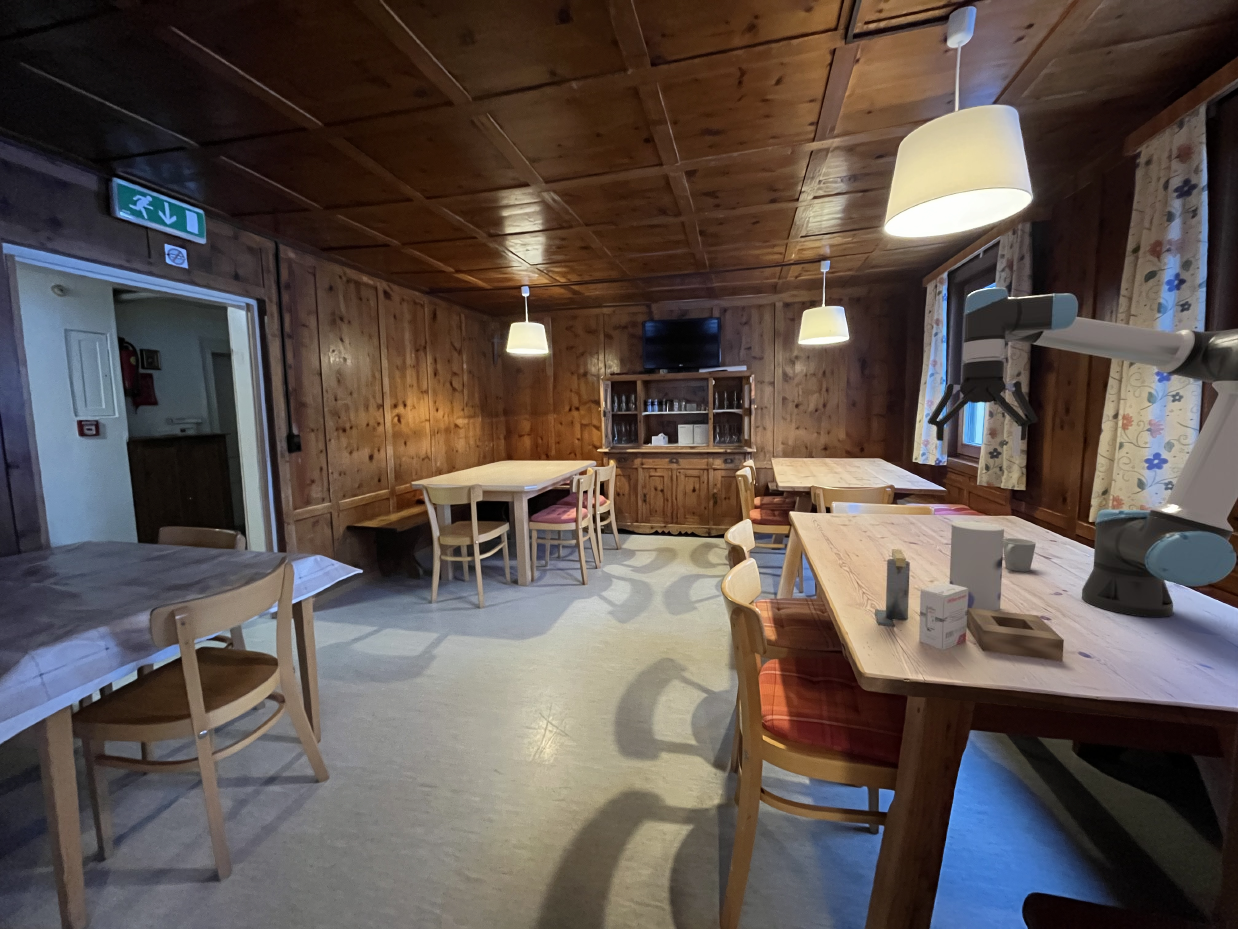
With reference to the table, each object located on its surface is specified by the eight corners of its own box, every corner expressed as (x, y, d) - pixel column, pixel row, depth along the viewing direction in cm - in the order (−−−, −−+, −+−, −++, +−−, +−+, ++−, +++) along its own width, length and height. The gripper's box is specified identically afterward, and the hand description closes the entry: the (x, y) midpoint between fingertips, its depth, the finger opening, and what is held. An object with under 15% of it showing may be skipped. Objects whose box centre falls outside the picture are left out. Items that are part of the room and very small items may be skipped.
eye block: (1036, 639, 100) (1037, 615, 100) (1062, 666, 89) (1063, 640, 89) (966, 630, 105) (967, 607, 105) (982, 655, 94) (983, 630, 94)
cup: (1039, 570, 144) (1041, 542, 143) (1021, 575, 140) (1022, 546, 139) (1009, 564, 151) (1011, 536, 150) (991, 568, 147) (992, 540, 146)
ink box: (942, 635, 103) (944, 580, 102) (967, 645, 99) (970, 587, 98) (917, 645, 99) (919, 588, 98) (942, 655, 95) (945, 595, 94)
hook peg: (910, 626, 106) (912, 559, 105) (887, 623, 108) (889, 557, 107) (905, 612, 114) (907, 550, 113) (883, 610, 116) (885, 548, 114)
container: (1009, 616, 112) (1013, 530, 110) (960, 613, 114) (963, 529, 112) (986, 600, 122) (989, 521, 120) (941, 598, 124) (944, 520, 122)
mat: (913, 616, 113) (914, 613, 113) (920, 630, 106) (920, 627, 106) (874, 611, 116) (875, 609, 116) (878, 624, 109) (878, 622, 109)
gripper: (1045, 359, 109) (1040, 454, 111) (916, 366, 119) (913, 453, 121) (1060, 355, 102) (1054, 456, 104) (921, 363, 112) (918, 455, 114)
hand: (978, 455), depth 112 cm, fingers open, 13 cm apart
